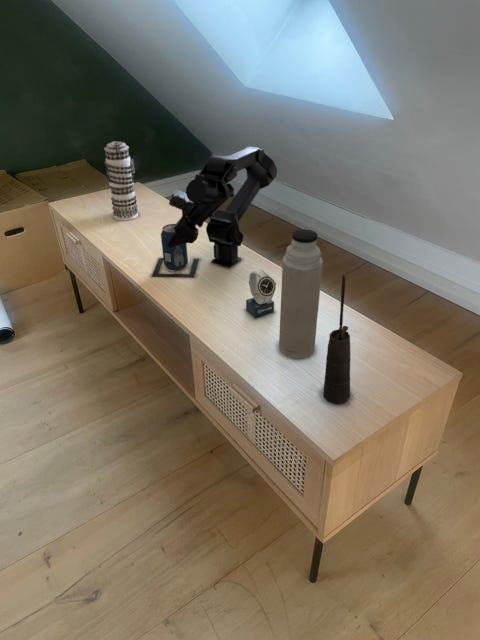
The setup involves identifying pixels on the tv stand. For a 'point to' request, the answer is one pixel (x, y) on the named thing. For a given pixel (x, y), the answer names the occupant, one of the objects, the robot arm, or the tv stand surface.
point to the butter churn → (338, 362)
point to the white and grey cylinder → (121, 180)
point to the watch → (260, 294)
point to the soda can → (173, 250)
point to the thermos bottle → (300, 295)
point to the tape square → (158, 266)
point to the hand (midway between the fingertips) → (171, 239)
